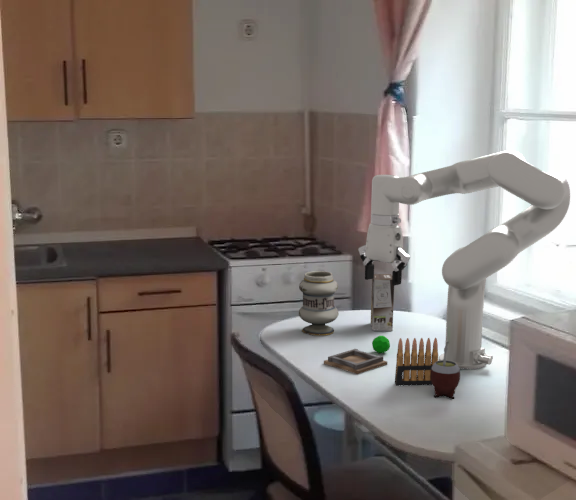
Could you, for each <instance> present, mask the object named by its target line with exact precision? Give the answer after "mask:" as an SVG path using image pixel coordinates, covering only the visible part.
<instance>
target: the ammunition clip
mask: <svg viewBox="0 0 576 500" xmlns="http://www.w3.org/2000/svg"><path fill="white" fill-rule="evenodd" d="M410 343H411V342H410V338H409V337H407V338H406V340H405V345H404V344H403V340H402V337H400V338H399V340H398V344H397V352H396V365H395V374H394V375H395V376H394V384H395V386H399V385H400V386H399V387H401V385H403V386H404V385H408V386H410V385H411V386H433V385H432V382H431V379H430V374H431V369H432V366H433V364H434V363H435V362H437V361H439V351H438V350H439V349H438V348H439V346H438V339H437V337H434V340H433V342H432V343H431V339H430V337H427V340H426V344H425V343H424V339H423V337H421V338H420V340H419V343H417V338H416V337H414V338H413V340H412V346H411V344H410ZM418 344H419V345H418ZM403 345H404V346H405V347H404V346H403ZM424 345H425V346H424ZM403 347H404V349H403ZM403 350H404V351H403ZM411 386H410V387H411Z"/></svg>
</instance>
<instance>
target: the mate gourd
mask: <svg viewBox="0 0 576 500" xmlns="http://www.w3.org/2000/svg"><path fill="white" fill-rule="evenodd" d="M445 342H446V341H445ZM448 343H449V342H446V345H445V346H444V348H443V352H444V353H443V354H444V360H441V361H439V360H438V361H437V362H435V363H434V364H433V366H432V369H431V374H430V379H431V382H432V385H431V386H433V390H434V395H433V398H435V399H439V398H443V397H445V398H447V399H450V400H455V396H454V394H456V389H457V387H458V386H459V383H460V380H461V372H460V371H461V369H459V367H458V365H457V364H456V363H455V362H452V361H446V355H447V350H448V348H447V347H448Z"/></svg>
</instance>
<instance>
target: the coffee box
mask: <svg viewBox="0 0 576 500" xmlns="http://www.w3.org/2000/svg"><path fill="white" fill-rule="evenodd" d="M370 285H371V286H370V287H371V288H370V293H371V294H370V298H371V299H370V326H371V329H372V331H377V332H379V331H381V332H382V331H383V332H384V331H386V332H392V331H393V328H394V327H393V325H394V302H395V301H394V300H395V286H394V285H392V273H380V274H379V273H378V274H377V273H374V278H373V279H371V284H370Z"/></svg>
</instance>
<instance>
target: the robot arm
mask: <svg viewBox="0 0 576 500" xmlns="http://www.w3.org/2000/svg"><path fill="white" fill-rule="evenodd" d="M371 179H372V180H371V202H370V204H371V206H370V209H371V210H370V223H369V225H368V229H367V235H366V242H365V244H364V245H361V246H359V247H358V249H357V250H358V252H359V255H360V259H361V261H362V264H363V266H364V279H365V280H367V281H368V280H372V279H373V278H374V274H375V264H374V262H375V261H376V262H380V263H385V264H390V265H391V267H392V268H393V270H392V273H391V275H392V285H394V287H395V286H399V285H401V284H402V277H403V276H402V275H403V270H405V268H406V266H408V263H409V262H410V259H411V256H410V255H409V254H408V253H406V252H405V250H404V237H403V231H402V227H401V225H399V224H401V223H402V218H401V217H399V216H400V204H403V205H407V206H409V205H410V206H412V205H413V206H414V205H416V204H419V203H421V202H423V201H426V200H429V199H434V198H438V197H444V196H449V195H456V194H462V195H463V194H464V195H466V194H472V193H475V192H477V193H478V192H481V191H484V190H489V189H494V188H498V187H500V188H502V189H503V190H505V191H507V192H508V193H509V194H511V195H514V196H516V197H517V198H519V199H520V200H522V201H525V203H528V204H530V206H528V207H527V208H525V209H523V210H522V211H520V212H519V213H518V214H515V216H513V217H511V218H509V219H508V220H507V221H506V222H503V223H501V224H500V225H497V226H496V227H493V228H491V229H490V230H488V231H487V232H486V233H484V234H483V235H481V236H480V237H478V238H476V239H474V240H473V241H472V242H470V243H469V244H467V245H465V246H462V247H459V248H458V249H456V250H454V252H453V253H451V254H450V255H449V256H448V257H447V258H446V259H445V261H444V262H443V264H442V268H441V275H442V279H443V281H444V283H445V284H446V285H448V288H447V299H446V300H447V301H446V303H447V305H446V320H445V341H444V344H445V345H446V342H449V343H448V347H447V348H448V350H447V355H446V361H452V362H455V363H456V364H457V365H458V367H459V369H460V370H477V369H482V368H484V367H486V366H487V365H491V364H493V363H492V362H493V357H494V356H493V355H490V354H486V350H485V349H486V348H485V347H482V343H483V342H482V339H483V321H484V306H485V305H484V304H485V290H486V289H485V288H486V281H487V279H488V278H489V277H490V276H492V275H494V274H495V273H497V272H499V271H500V270H502V269H503V268H505V267H507V266H508V265H509V264H510V263H512V262H513V261H514V259H515V258H516V257H517V256H518V255H519V254H520V253H522V252H523V251H525V250H526V249H528V248H529V247H531V246H533V245H534V244H536V243H537V242H539V241H540V240H542V239H544V237H545V238H546V236H548V235H549V234H551V233H552V232H553V231H554V230H555V229H557V227H558V226H559V225H560V224H562V222H563V220H564V219H565V217H566V215H567V213H568V210H569V207H570V203H571V189H570V184H569V182H568V180H567V179H566V177H565V176H563V175H562V174H561V173H559V172H554V171H549V172H548V171H547V172H545V171H544V170H542V169H539V168H538V167H536V166H534V165H533V164H531V163H529V162H527V161H526V159H525V157H524V156H523V154H522V153H520V152H519V151H516V150H514V149H513V150H511V149H510V150H504V151H498V152H496V153H490V154H488V155H483V156H480V157H475V158H470V159H466V160H462V161H459V162H455V163H453V164H451V165H449V166H444V167H440V168H436V169H433V170H429V171H424V172H420V173H419V172H418V173H414V174H411V175H409V176H404V177H399V176H397V175H393V174H377V175H375V176H373V177H372V178H371ZM441 360H444V353H441V354H440V355H438V361H441Z"/></svg>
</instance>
